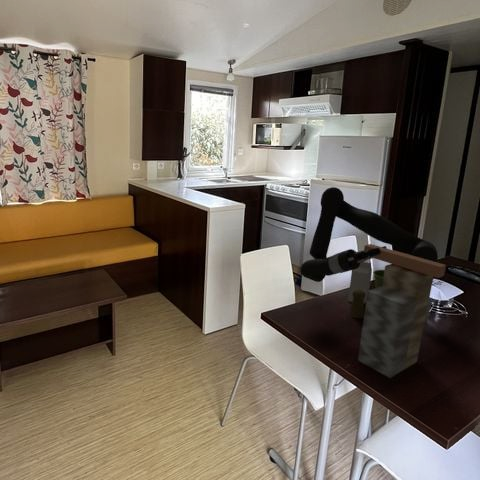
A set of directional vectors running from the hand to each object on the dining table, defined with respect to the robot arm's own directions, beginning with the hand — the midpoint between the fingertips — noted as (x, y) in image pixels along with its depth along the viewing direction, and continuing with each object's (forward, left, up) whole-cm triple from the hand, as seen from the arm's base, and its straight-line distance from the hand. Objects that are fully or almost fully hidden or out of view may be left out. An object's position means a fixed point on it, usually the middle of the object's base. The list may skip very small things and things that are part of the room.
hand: (382, 249), depth 129 cm
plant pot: (-28, -42, -36) cm, 62 cm away
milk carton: (-13, -37, -36) cm, 53 cm away
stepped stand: (-2, +11, -36) cm, 37 cm away
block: (-4, +6, -3) cm, 8 cm away
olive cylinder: (-6, -23, -36) cm, 43 cm away
